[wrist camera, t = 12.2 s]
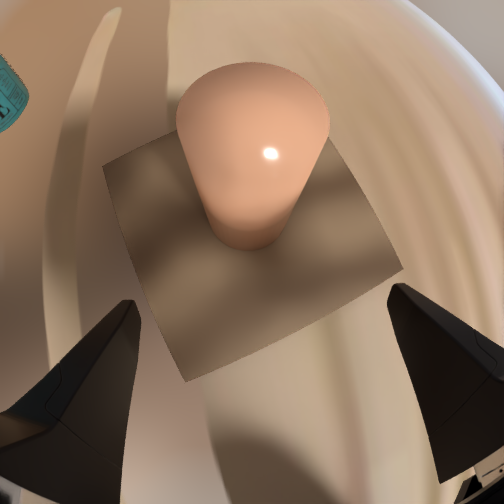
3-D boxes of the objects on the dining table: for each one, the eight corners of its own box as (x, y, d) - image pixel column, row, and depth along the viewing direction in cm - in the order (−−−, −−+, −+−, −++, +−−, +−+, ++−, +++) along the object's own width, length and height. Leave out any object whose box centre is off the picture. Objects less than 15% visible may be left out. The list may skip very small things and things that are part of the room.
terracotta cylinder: (303, 213, 18) (358, 120, 9) (246, 267, 18) (252, 212, 8) (248, 163, 19) (254, 47, 9) (191, 211, 18) (146, 113, 8)
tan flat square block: (393, 271, 20) (403, 268, 18) (189, 377, 17) (185, 382, 16) (291, 101, 22) (294, 90, 21) (109, 174, 20) (102, 166, 19)
